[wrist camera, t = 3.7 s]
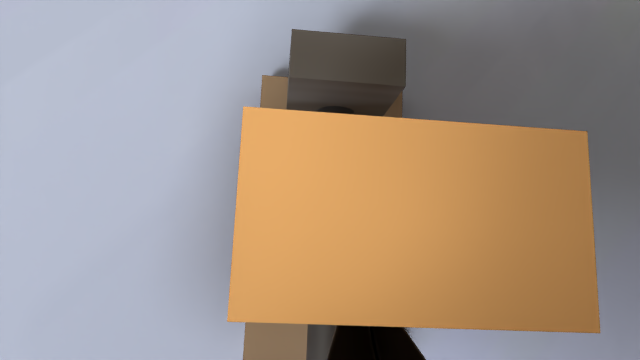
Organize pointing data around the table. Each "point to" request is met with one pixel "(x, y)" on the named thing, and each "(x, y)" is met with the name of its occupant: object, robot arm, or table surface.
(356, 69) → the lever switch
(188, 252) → the table surface
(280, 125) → the orange slab
